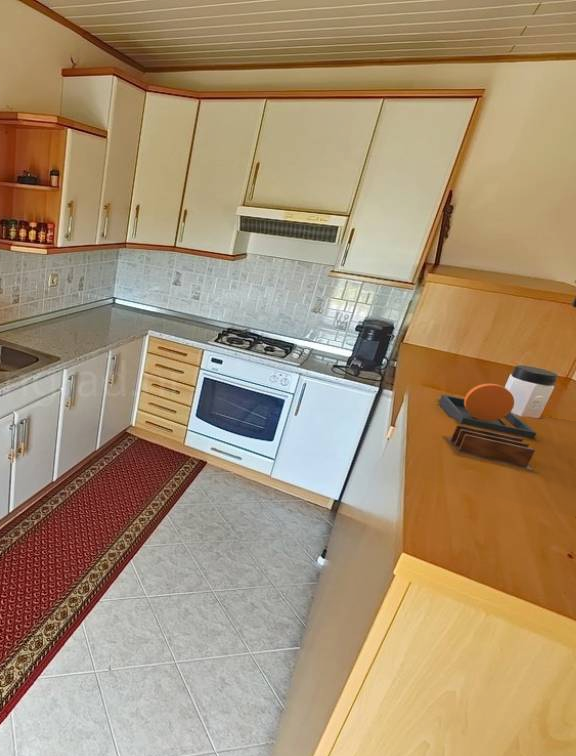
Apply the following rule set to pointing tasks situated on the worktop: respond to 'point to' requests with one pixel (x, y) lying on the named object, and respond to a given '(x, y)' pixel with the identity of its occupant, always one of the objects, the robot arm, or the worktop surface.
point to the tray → (458, 411)
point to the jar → (530, 390)
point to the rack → (491, 446)
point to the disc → (489, 402)
